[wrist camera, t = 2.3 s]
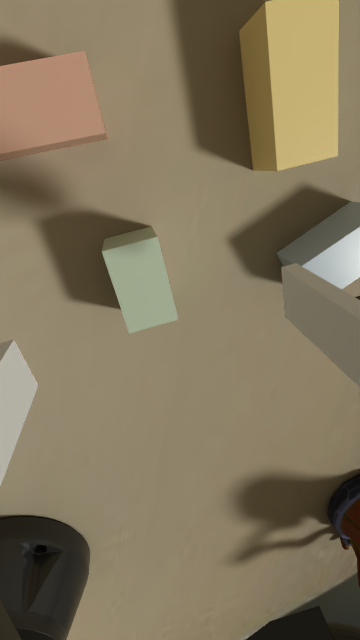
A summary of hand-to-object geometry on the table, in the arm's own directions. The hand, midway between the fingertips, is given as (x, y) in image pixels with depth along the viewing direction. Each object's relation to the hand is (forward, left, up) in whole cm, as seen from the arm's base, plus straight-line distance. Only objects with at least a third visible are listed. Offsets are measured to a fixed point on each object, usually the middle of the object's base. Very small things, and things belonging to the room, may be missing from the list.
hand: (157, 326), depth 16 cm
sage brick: (0, 0, -11) cm, 11 cm away
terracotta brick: (-3, +11, -11) cm, 16 cm away
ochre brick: (+12, +9, -11) cm, 18 cm away
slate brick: (+15, -2, -11) cm, 18 cm away
